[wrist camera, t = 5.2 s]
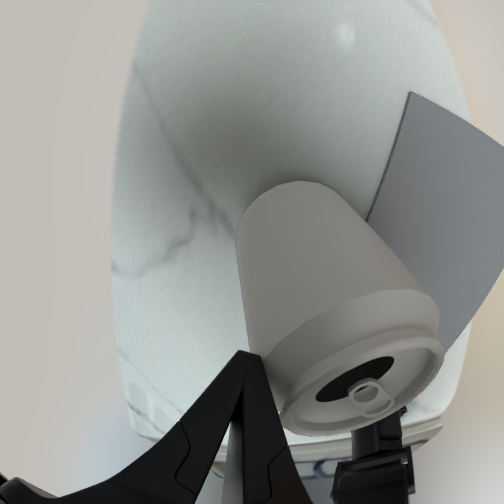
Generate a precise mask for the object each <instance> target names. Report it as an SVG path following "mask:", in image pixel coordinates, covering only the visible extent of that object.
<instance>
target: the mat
mask: <svg viewBox="0 0 504 504" xmlns="http://www.w3.org/2000/svg"><path fill="white" fill-rule="evenodd" d="M366 223H367V224H368V225H369V226H370V227H371V228H372V229H373V230H374V231H375V232H376V233H377V234H378V236H379V237H380V238H381V239H382V240H383V241H384V242H385V243H386V244H387V245H388V247H389V248H390V249H391V250H392V251H393V252H394V253H395V255H396V256H397V257H398V258H399V259H400V260H401V261H402V263H403V264H404V265H405V266H406V267H407V268H408V270H409V271H410V272H411V273H412V274H413V276H414V277H415V278H416V279H417V281H418V282H419V283H420V284H421V285H422V287H423V288H424V289H425V290H426V292H427V293H428V294H429V296H430V297H431V298H432V300H433V301H434V303H435V304H436V306H437V307H438V309H439V330H438V336H437V339H438V340H439V341H440V342H441V344H442V345H443V346H444V348H445V353H446V352H447V351H448V349H449V348H450V347H451V346H452V344H453V343H454V342H455V340H456V339H457V338H458V337H459V335H460V334H461V333H462V331H463V330H464V329H465V327H466V326H467V324H468V323H469V322H470V320H471V319H472V317H473V316H474V315H475V313H476V311H477V310H478V309H479V307H480V305H481V304H482V303H483V301H484V299H485V298H486V296H487V295H488V293H489V292H490V290H491V288H492V287H493V285H494V283H495V282H496V280H497V278H498V276H499V275H500V273H501V271H502V269H503V268H504V147H503V146H502V145H500V144H499V143H497V142H496V141H495V140H493V139H492V138H491V137H489V136H488V135H486V134H485V133H483V132H482V131H480V130H479V129H477V128H476V127H474V126H473V125H471V124H470V123H468V122H466V121H465V120H463V119H462V118H460V117H458V116H457V115H455V114H453V113H451V112H450V111H448V110H446V109H444V108H443V107H441V106H439V105H437V104H435V103H433V102H431V101H430V100H428V99H426V98H424V97H422V96H420V95H418V94H416V93H414V92H409V95H408V99H407V103H406V106H405V110H404V114H403V117H402V120H401V124H400V127H399V130H398V134H397V137H396V140H395V143H394V146H393V149H392V152H391V155H390V158H389V161H388V164H387V167H386V170H385V173H384V176H383V179H382V181H381V184H380V187H379V190H378V192H377V195H376V198H375V200H374V203H373V205H372V208H371V211H370V213H369V216H368V218H367V221H366ZM445 353H444V354H445Z"/></svg>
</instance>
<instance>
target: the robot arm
mask: <svg viewBox="0 0 504 504" xmlns="http://www.w3.org/2000/svg"><path fill="white" fill-rule="evenodd" d="M406 412H407V408H406V407H402V408H400V409H399V410H397V411H395V412H394V413H392V414H390V415H389V416H387V417H385V418H383V419H381V420H378V421H376V422H374V423H372V424H370V425H367V426H364V427H361V428H358V429H355V430H352V431H351V434H352V460H351V461H345V462H343V461H342V462H338V464H337V467H336V471H335V477H334V483H333V488H332V491H331V495H330V497H331V499H333V501H334V504H410V500H409V495H410V494H414V493H415V479H414V468H413V459H412V452H411V446H410V445H409V446H406V447H405V448H403V446H402V438H401V437H402V429H401V422H400V417H401V416H402V415H403V414H405V413H406ZM230 421H231V422H230ZM229 424H230V431H229V440H228V449H227V458H226V467H225V476H224V485H223V494H222V504H313V502H312V501H311V498H310V496H309V494H308V492H307V490H306V488H305V487H304V485H303V482H302V480H301V478H300V476H299V474H298V471H297V469H296V466H295V463H294V461H293V458H292V455H291V452H290V449H289V446H287V445H288V443H287V440H286V436H285V433H284V430H283V427H282V424H281V420H280V417H279V414H278V411H277V408H276V404H275V401H274V398H273V394H272V391H271V388H270V385H269V381H268V378H267V375H266V371H265V368H264V365H263V361H262V358H261V356H260V355H258V354H254V353H249V352H246V351H242V350H238V351H237V352H236V353H235V354H234V356H233V357H232V358H231V359H230V361H229V362H228V363H227V364H226V365H225V367H224V368H223V369H222V370H221V372H220V373H219V374H218V375H217V376H216V378H215V379H214V380H213V381H212V382H211V384H210V385H209V386H208V387H207V388H206V389H205V391H204V392H203V393H202V394H201V395H200V397H199V398H198V399H197V400H196V401H195V402H194V404H193V405H192V406H191V407H190V408H189V409H188V410H187V412H186V413H185V414H184V415H183V416H182V417H181V418H180V421H178V422H177V423H176V424H175V425H174V426H173V427H172V428H171V429H170V430H169V432H168V433H167V434H166V435H165V436H164V437H163V438H162V439H161V440H160V441H158V442H157V443H156V444H155V445H154V446H153V447H152V448H151V449H149V450H148V451H147V452H146V453H144V454H143V455H142V456H140V457H139V458H138V459H137V460H135V461H134V462H133V463H131V464H130V465H129V466H127V467H126V468H125V469H123V470H122V471H121V472H119V473H118V474H116V475H114V476H113V477H111V478H109V479H107V480H105V481H103V482H101V483H98V484H96V485H93V486H91V487H88V488H85V489H82V490H80V491H77V492H74V493H71V494H69V495H65V496H62V497H56V496H54V495H52V494H50V493H48V492H46V491H44V490H42V489H40V488H38V487H36V486H34V485H32V484H30V483H28V482H26V481H25V480H23V479H20V478H18V477H15V478H13V479H11V480H8V479H7V478H6V477H5V476H3V475H2V474H1V473H0V504H195V502H196V499H197V497H198V495H199V493H200V491H201V489H202V486H203V484H204V482H205V479H206V477H207V475H208V473H209V471H210V468H211V466H212V464H213V462H214V459H215V457H216V455H217V452H218V450H219V448H220V445H221V443H222V441H223V438H224V436H225V433H226V431H227V429H228V426H229ZM404 462H408V463H407V464H402V463H404Z"/></svg>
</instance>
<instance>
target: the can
mask: <svg viewBox="0 0 504 504" xmlns="http://www.w3.org/2000/svg"><path fill="white" fill-rule="evenodd" d="M235 247H236V255H237V262H238V270H239V277H240V284H241V292H242V299H243V306H244V313H245V320H246V327H247V334H248V341H249V348H250V353H254V354H258V355H260V356H261V358H262V361H263V365H264V368H265V371H266V375H267V378H268V381H269V385H270V388H271V391H272V394H273V398H274V401H275V404H276V408H277V410H278V411H279V412H280V414H279V416H280V420H281V423H282V426H283V427H284V428H285V429H287V430H289V431H291V432H292V433H294V434H297V435H304V436H310V437H314V436H330V435H335V434H340V433H345V432H349V431H352V430H355V429H358V428H361V427H364V426H367V425H370V424H372V423H374V422H376V421H378V420H381V419H383V418H385V417H387V416H389V415H390V414H392V413H394V412H395V411H397V410H399V409H400V408H402V407H403V406H405V405H406V404H408V403H409V402H410V401H412V400H413V399H414V398H415V397H416V396H418V395H419V394H420V393H421V392H422V391H423V390H424V389H425V388H426V387H427V386H428V385H429V384H430V383H431V381H432V380H433V379H434V378H435V377H436V375H437V373H438V371H439V370H440V368H441V366H442V364H443V361H444V353H445V348H444V346H443V345H442V344H441V342H440V341H439V340H438V339H437V336H438V330H439V309H438V307H437V306H436V304H435V303H434V301H433V300H432V298H431V297H430V296H429V294H428V293H427V292H426V290H425V289H424V288H423V287H422V285H421V284H420V283H419V282H418V281H417V279H416V278H415V277H414V276H413V274H412V273H411V272H410V271H409V270H408V268H407V267H406V266H405V265H404V264H403V263H402V261H401V260H400V259H399V258H398V257H397V256H396V255H395V253H394V252H393V251H392V250H391V249H390V248H389V247H388V245H387V244H386V243H385V242H384V241H383V240H382V239H381V238H380V237H379V236H378V234H377V233H376V232H375V231H374V230H373V229H372V228H371V227H370V226H369V225H368V224H367V223H366V222H365V221H364V220H363V218H362V217H361V216H360V215H359V214H358V213H357V212H356V211H355V210H354V209H353V208H352V207H351V206H350V205H349V204H348V203H347V202H346V201H345V200H344V199H343V198H342V197H341V196H340V195H339V194H338V193H337V192H336V191H334V190H332V189H330V188H328V187H326V186H324V185H322V184H320V183H316V182H308V181H294V182H290V183H285V184H280V185H277V186H275V187H274V188H272V189H270V190H268V191H266V192H265V193H263V194H261V195H259V196H258V197H257V199H256V200H255V201H254V202H253V203H252V204H251V205H250V206H249V207H248V208H247V209H246V210H245V212H244V214H243V216H242V218H241V220H240V222H239V225H238V227H237V233H236V243H235Z"/></svg>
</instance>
